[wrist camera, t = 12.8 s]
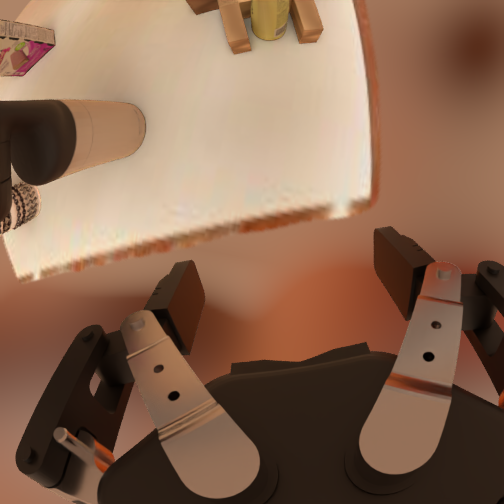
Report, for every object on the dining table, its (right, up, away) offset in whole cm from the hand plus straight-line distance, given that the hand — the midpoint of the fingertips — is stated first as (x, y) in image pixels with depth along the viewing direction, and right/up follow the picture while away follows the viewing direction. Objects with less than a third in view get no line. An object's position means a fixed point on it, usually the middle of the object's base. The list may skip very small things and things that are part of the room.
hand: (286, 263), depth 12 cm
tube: (+1, +33, +17) cm, 37 cm away
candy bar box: (-44, +40, +17) cm, 62 cm away
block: (+1, +33, +17) cm, 37 cm away
